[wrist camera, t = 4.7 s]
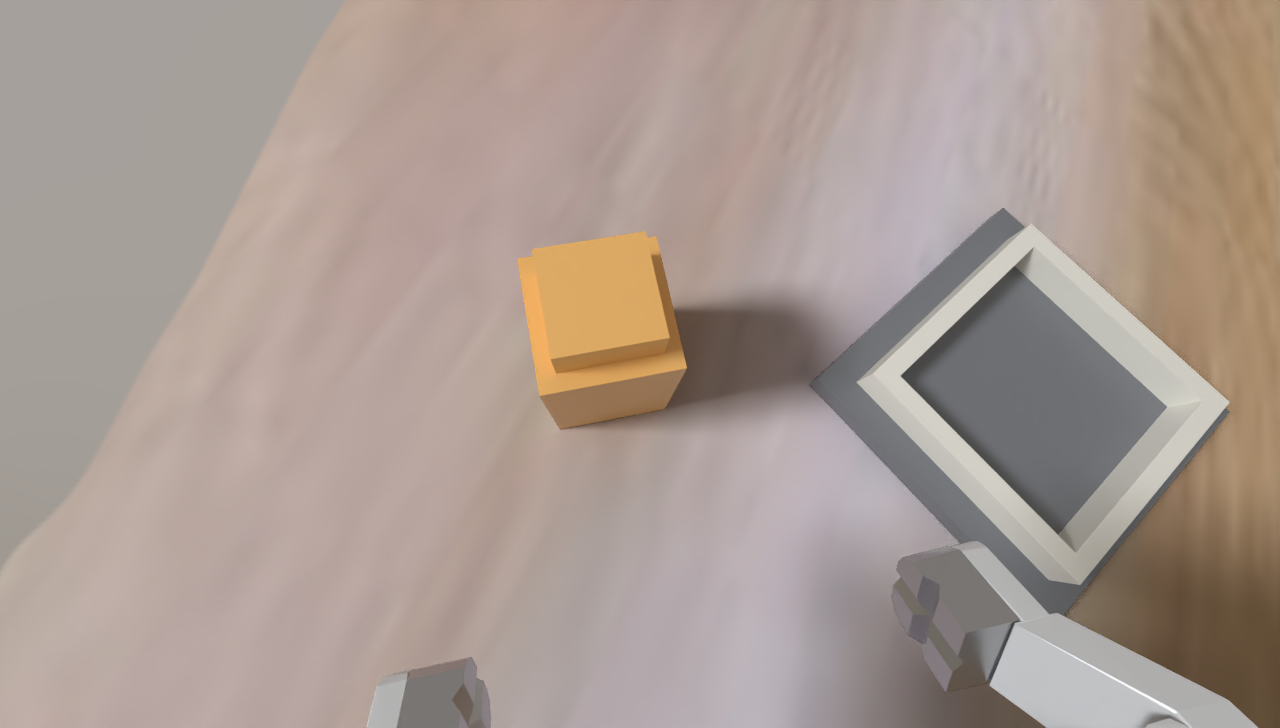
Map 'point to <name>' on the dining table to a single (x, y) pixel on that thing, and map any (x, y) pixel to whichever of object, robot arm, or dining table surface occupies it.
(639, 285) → the stepped orange block
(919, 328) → the base
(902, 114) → the dining table surface
